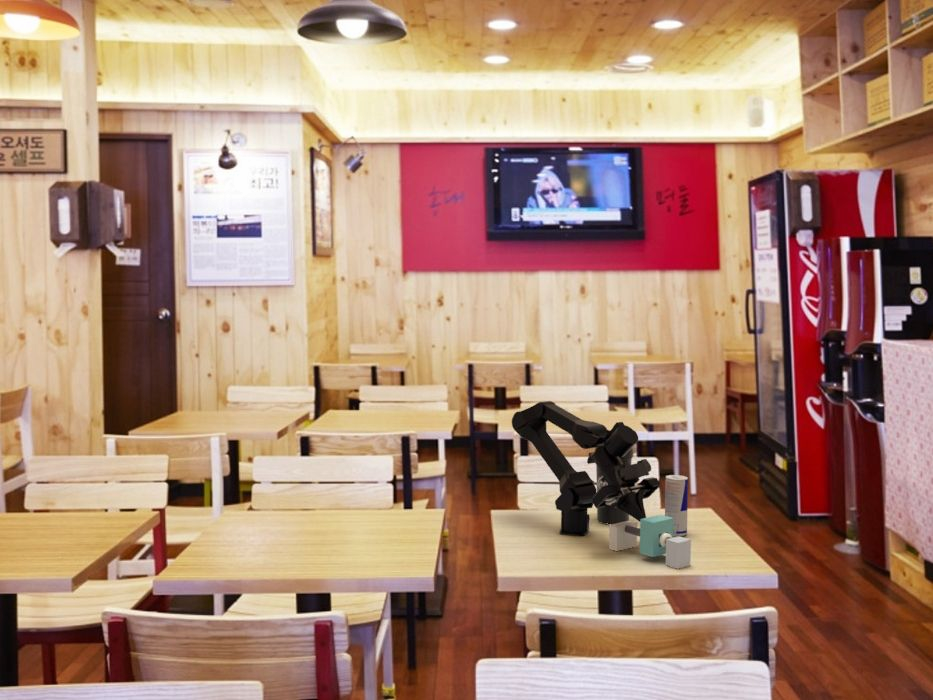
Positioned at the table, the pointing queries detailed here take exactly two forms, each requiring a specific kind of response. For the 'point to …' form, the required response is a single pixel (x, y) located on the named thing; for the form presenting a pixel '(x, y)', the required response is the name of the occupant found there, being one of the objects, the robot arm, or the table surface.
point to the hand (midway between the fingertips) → (644, 522)
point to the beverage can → (677, 502)
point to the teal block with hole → (654, 534)
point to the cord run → (676, 547)
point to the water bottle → (609, 511)
